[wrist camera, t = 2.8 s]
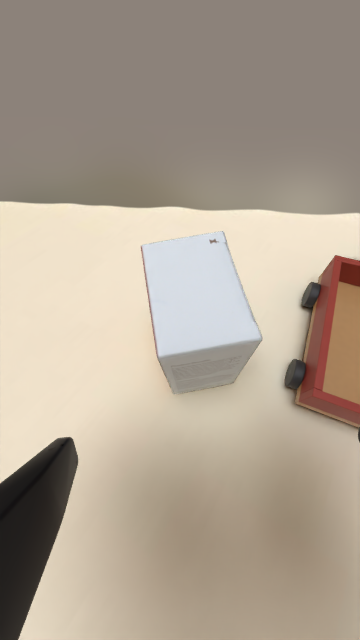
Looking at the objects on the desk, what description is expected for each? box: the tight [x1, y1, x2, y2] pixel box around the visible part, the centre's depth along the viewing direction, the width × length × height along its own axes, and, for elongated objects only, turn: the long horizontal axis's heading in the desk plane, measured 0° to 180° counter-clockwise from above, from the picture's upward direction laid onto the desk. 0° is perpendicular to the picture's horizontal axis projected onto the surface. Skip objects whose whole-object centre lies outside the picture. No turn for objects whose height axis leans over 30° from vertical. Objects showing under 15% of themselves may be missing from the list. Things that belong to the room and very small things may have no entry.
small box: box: [141, 231, 263, 394], centre depth 18 cm, size 8×6×10 cm
